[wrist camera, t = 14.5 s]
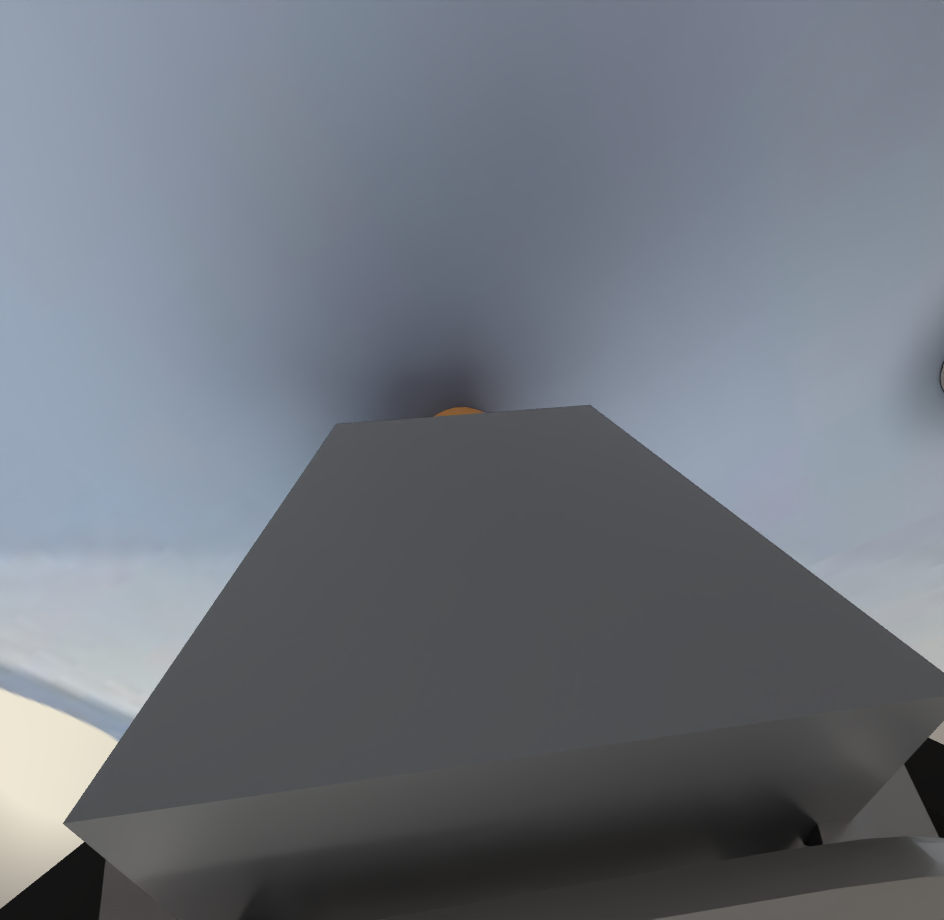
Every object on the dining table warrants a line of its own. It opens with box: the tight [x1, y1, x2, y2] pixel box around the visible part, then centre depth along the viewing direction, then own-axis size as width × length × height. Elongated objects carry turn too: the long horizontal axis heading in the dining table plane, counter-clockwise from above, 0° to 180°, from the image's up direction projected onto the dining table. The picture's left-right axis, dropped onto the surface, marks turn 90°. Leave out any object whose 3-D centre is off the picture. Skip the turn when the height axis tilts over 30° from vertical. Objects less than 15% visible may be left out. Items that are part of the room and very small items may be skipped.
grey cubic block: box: [63, 405, 944, 920], centre depth 9 cm, size 8×8×9 cm
